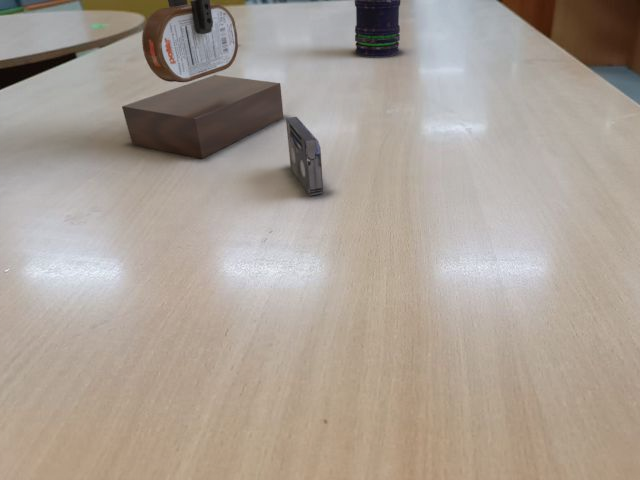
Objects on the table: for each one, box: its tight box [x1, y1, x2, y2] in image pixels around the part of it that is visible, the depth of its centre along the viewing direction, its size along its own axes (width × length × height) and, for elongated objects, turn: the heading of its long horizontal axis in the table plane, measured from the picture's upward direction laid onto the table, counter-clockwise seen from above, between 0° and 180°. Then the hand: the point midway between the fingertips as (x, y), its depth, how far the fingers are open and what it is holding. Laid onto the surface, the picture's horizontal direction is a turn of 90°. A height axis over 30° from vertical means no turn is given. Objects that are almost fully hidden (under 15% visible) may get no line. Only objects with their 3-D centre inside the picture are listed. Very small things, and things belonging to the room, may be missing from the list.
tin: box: [141, 2, 239, 83], centre depth 65 cm, size 15×3×8 cm, turn 153°
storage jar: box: [354, 0, 402, 58], centre depth 110 cm, size 10×10×15 cm
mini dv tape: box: [285, 116, 324, 197], centre depth 56 cm, size 8×2×6 cm, turn 21°
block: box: [121, 74, 284, 160], centre depth 70 cm, size 12×18×5 cm, turn 153°
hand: (194, 31), depth 65 cm, fingers closed on tin, 2 cm apart
